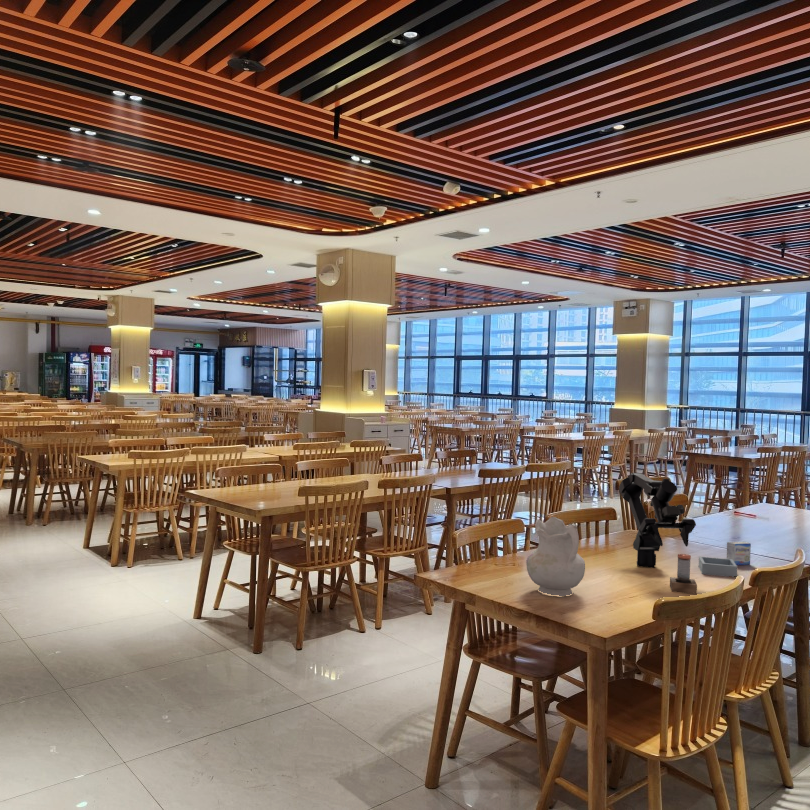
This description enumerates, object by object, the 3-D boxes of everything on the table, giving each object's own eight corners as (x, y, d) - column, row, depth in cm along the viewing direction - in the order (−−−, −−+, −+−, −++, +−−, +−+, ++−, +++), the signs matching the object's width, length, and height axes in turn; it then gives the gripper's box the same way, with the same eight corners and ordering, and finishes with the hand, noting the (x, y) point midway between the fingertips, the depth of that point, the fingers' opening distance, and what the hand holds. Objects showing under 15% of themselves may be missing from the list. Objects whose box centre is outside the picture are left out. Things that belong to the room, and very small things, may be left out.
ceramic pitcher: (601, 601, 230) (607, 525, 231) (558, 605, 219) (565, 525, 220) (553, 585, 248) (559, 514, 249) (512, 588, 238) (518, 514, 238)
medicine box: (733, 565, 278) (734, 544, 278) (725, 562, 283) (726, 541, 282) (750, 564, 281) (751, 543, 280) (742, 562, 285) (743, 540, 285)
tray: (702, 574, 264) (702, 563, 264) (698, 566, 276) (698, 556, 276) (736, 577, 261) (737, 566, 261) (731, 569, 272) (732, 559, 272)
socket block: (671, 591, 240) (671, 582, 239) (669, 585, 247) (670, 577, 247) (696, 594, 237) (697, 585, 237) (694, 587, 245) (694, 579, 245)
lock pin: (677, 590, 241) (678, 556, 240) (675, 587, 245) (677, 553, 245) (690, 592, 240) (691, 557, 239) (688, 588, 244) (690, 554, 243)
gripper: (644, 496, 254) (656, 532, 243) (694, 497, 255) (708, 533, 244) (635, 513, 262) (646, 550, 251) (683, 514, 263) (696, 550, 253)
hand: (674, 545), depth 250 cm, fingers open, 9 cm apart
